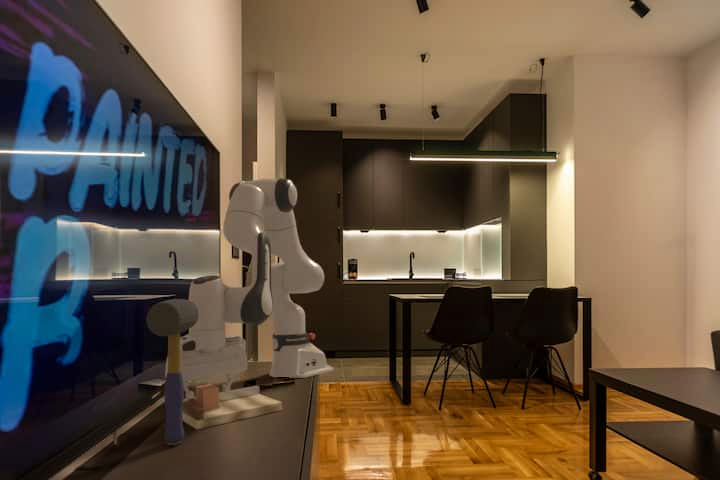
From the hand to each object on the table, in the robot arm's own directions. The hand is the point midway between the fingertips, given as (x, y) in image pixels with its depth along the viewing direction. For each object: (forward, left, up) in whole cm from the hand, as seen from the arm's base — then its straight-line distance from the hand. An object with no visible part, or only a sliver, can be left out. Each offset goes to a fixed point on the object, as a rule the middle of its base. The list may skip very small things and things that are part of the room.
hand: (208, 395), depth 122 cm
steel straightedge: (-4, -4, -3) cm, 6 cm away
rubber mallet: (+14, +16, -5) cm, 21 cm away
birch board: (-4, +3, -5) cm, 7 cm away
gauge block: (0, 0, -3) cm, 3 cm away
